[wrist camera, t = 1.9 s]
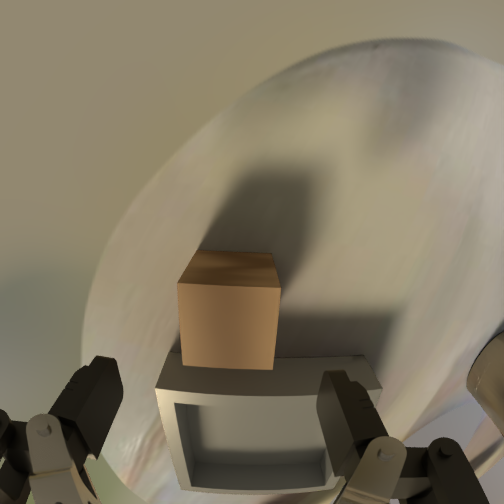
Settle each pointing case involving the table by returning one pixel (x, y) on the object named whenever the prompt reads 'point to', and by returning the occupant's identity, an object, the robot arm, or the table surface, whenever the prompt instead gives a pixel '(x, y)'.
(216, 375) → the grey bin
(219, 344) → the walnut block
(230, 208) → the table surface
